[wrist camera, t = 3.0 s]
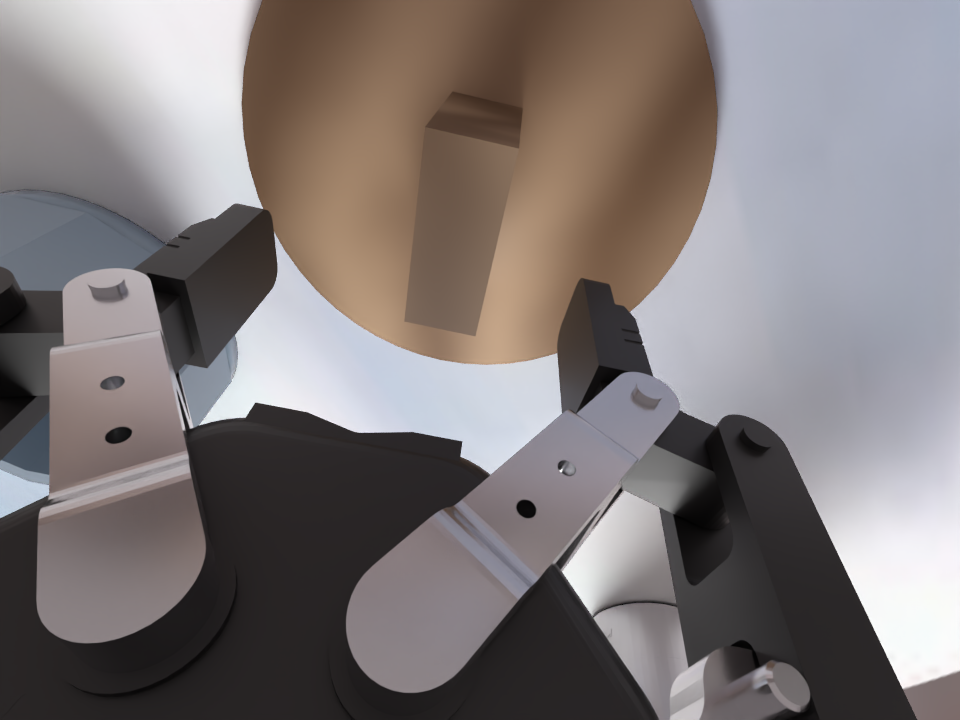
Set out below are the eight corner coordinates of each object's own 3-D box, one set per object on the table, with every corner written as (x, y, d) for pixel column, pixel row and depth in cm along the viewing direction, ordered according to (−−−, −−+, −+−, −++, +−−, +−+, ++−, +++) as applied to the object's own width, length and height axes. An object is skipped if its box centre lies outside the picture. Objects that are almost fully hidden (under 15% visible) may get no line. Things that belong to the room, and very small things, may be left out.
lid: (820, -52, 13) (976, -72, 9) (605, 381, 24) (623, 476, 19) (220, -210, 12) (30, -328, 8) (276, 312, 23) (210, 395, 18)
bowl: (216, 228, 20) (121, 303, 15) (250, 425, 28) (195, 512, 24) (-100, 157, 19) (-299, 213, 15) (30, 381, 28) (-71, 462, 23)
